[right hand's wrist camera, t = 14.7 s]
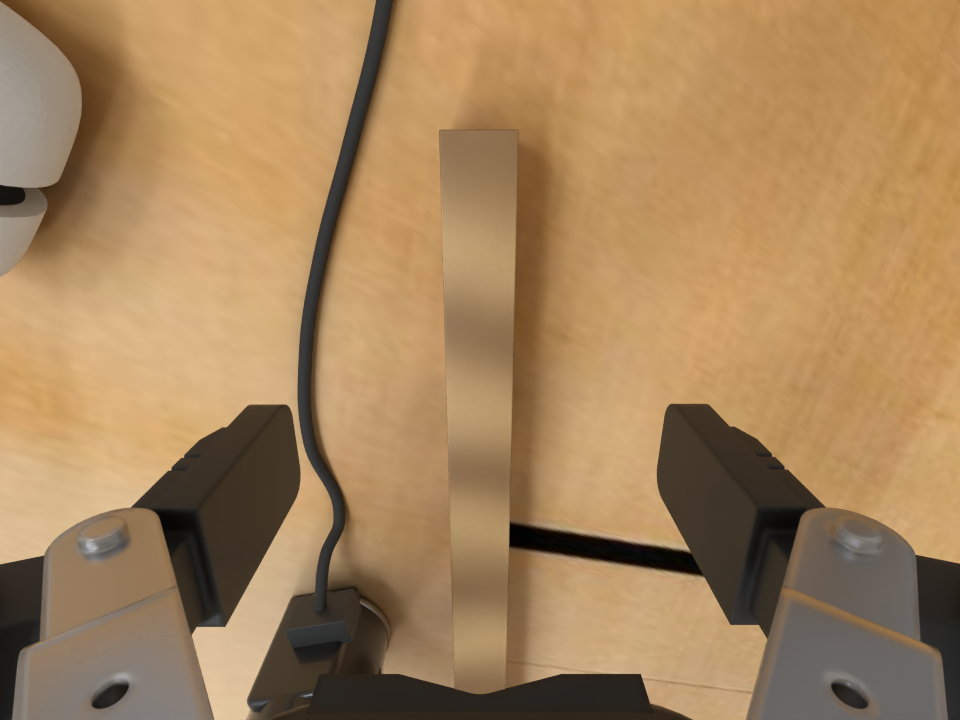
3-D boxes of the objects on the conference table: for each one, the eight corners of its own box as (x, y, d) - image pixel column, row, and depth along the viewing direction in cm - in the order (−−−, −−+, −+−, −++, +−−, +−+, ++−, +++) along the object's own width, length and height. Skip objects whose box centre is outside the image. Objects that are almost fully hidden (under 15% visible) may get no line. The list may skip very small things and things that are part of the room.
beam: (446, 136, 32) (439, 129, 26) (511, 136, 32) (518, 129, 26) (463, 874, 61) (462, 954, 54) (497, 874, 61) (499, 954, 54)
